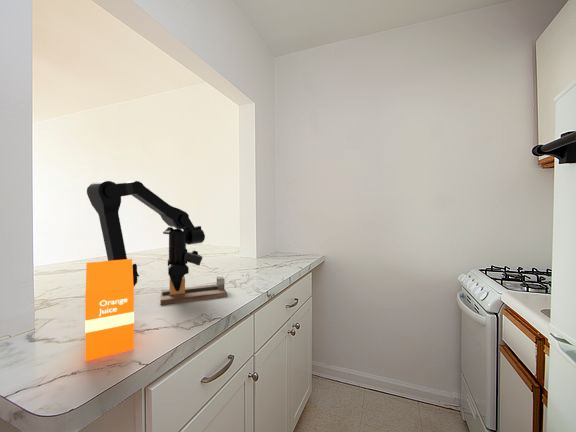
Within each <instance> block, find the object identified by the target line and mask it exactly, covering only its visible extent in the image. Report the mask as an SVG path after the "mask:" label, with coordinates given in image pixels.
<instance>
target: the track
mask: <svg viewBox="0 0 576 432" xmlns="http://www.w3.org/2000/svg"><path fill="white" fill-rule="evenodd" d="M225 281H226V280H225V277H224V276H216V284H215V283H214V284H207V285H199V286H198V285H195V286H189V287H185V293H183V294H175V295H170V288H169V289H161V290H160V305H161V306H163V305H169V304H177V303H178V304H180V303H187V302H194V301H201V300H202V301H203V300H208V299H209V300H210V299H216V298H224V297H225V298H226V297H228V292H227V291H226V289H225Z"/></svg>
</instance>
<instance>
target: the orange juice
mask: <svg viewBox="0 0 576 432" xmlns="http://www.w3.org/2000/svg"><path fill="white" fill-rule="evenodd" d="M132 263H133V258H127V259H125V260H113V261H108V260H102V261H89V262H86V267H85V268H86V270H85V271H86V273H85V291H84V292H85V293H84V294H85V295H84V296H85V298H84V299H85V301H84V302H85V304H84V305H85V306H84V308H85V309H84V310H85V313H84V314H85V318H84V319H85V320H84V326H85V327H84V333H85V362H89V361H92V360H96V359H100V358H104V357H108V356H112V355H116V354H120V353H124V352H127V351H132V350H135V304H134V303H135V286H134V285H133V267H132Z"/></svg>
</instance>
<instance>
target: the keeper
mask: <svg viewBox="0 0 576 432" xmlns="http://www.w3.org/2000/svg"><path fill="white" fill-rule="evenodd" d="M185 277H186V276H185V275H184V276H183V277H182V281H181V286H180V290H179V291H176V290H175V288H174V285H173V283H172V281H171V279H170V278H169V289H170V295H175V294H183V293H185V288H186V278H185Z"/></svg>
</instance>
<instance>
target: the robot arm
mask: <svg viewBox="0 0 576 432" xmlns="http://www.w3.org/2000/svg"><path fill="white" fill-rule="evenodd" d="M86 195H87V197H88V199H89V201H90V205H91V206H92V207H93V210H95V212H96V213H97V214H98V219H99V223H100V229H101V232H102V238H103V239H102V240H103V244H104V247H105V252H106V257H107V261H113V260H125V259H128V257H127V252H126V247H125V242H124V241H125V240H124V237H123V230H122V225H121V221H120V220H121V219H120V215H119V210H120V207H121V203H122V197H126V196H127V197H128V196H132V197H133V198H135V199H137V200H138V201H139V202H141V203H142V204H144V205H145V206H146V207H148V208H149V209H151V210H152V211H154V212H155V213H157V214H158V215H159V216H160V217H161V220H162V221H163V222H164V223H165V224H166V225H167V226H168V227H167V228H166V229H164V231H163V232H162V234H163V235H168V259H167V271H168V272H167V274H168V277H169V280H170V279H171V281H172V283H173V285H174V288H175V290H176V291H179V290H180V286H181V281H182V277H183V276H184V277H185V275H188V274H189V272H190V270H189V266H188V265H187V264H188V263H189V264H194V265H196V266H201V262H202V261H203V256H202V255H200V254H199V252H198V250H192V251H188V249H187V245H188V246H189V245H196V244H202V243H203V242H204V241H205V238H206V234H205V232H204V230H203V229H202V226H201V225H194V224H193V222H192V221H191V219H190V215H189V214H188V213H187V212H186V211H184V210H183V209H180V208H178V207H175V206H172V205H171V204H169V203H167V202H166V201H165V200H164V199H162V198H161V197H159V196H158V195H157V194H155V193H154V192H153V191H151V190H150V188H147V187H146V186H145V184H143V183H142V182H141V181H138V180H135V181H134V180H133V181H127V182H121V183H120V182H119V183H116V182H114V181H111V180H105V181H95V182H92V183H90V185H88V186H87V188H86ZM132 267H133V285H134V287H136V284H138V277H140V275H139V273H138V266H137V263H136V262H135V263H133V262H132Z"/></svg>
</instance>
